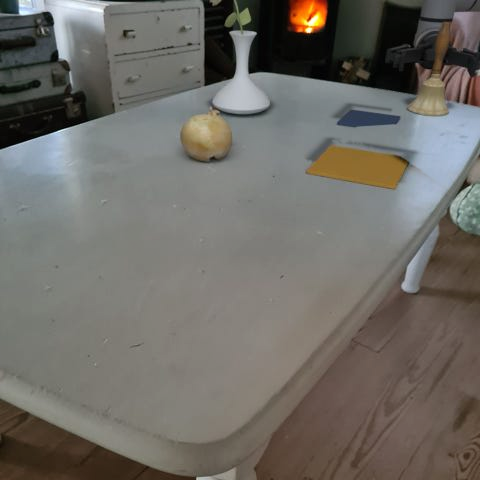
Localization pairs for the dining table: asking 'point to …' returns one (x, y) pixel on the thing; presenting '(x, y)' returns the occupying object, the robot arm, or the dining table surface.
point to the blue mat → (367, 119)
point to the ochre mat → (360, 166)
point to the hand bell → (434, 81)
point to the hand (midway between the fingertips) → (437, 66)
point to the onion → (206, 136)
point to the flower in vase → (240, 73)
